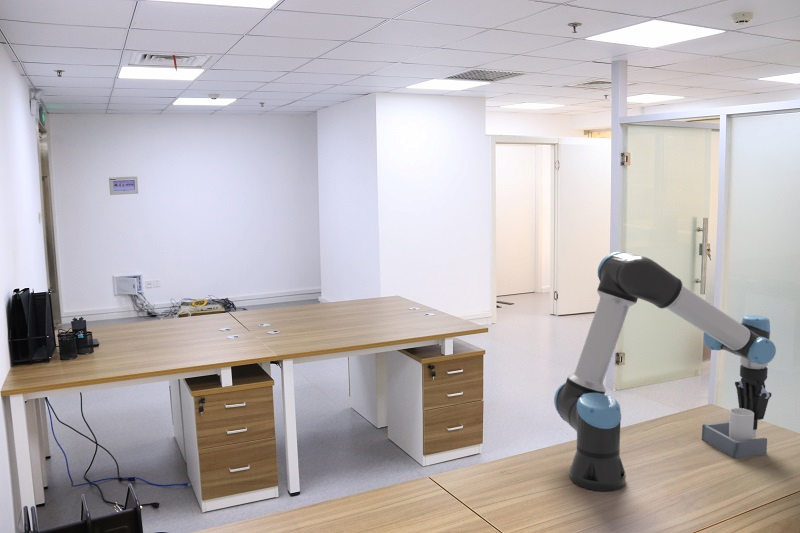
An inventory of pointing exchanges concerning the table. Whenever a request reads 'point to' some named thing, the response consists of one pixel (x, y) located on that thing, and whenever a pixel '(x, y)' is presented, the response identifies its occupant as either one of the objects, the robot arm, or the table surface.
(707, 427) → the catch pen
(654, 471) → the table surface
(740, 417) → the mug
